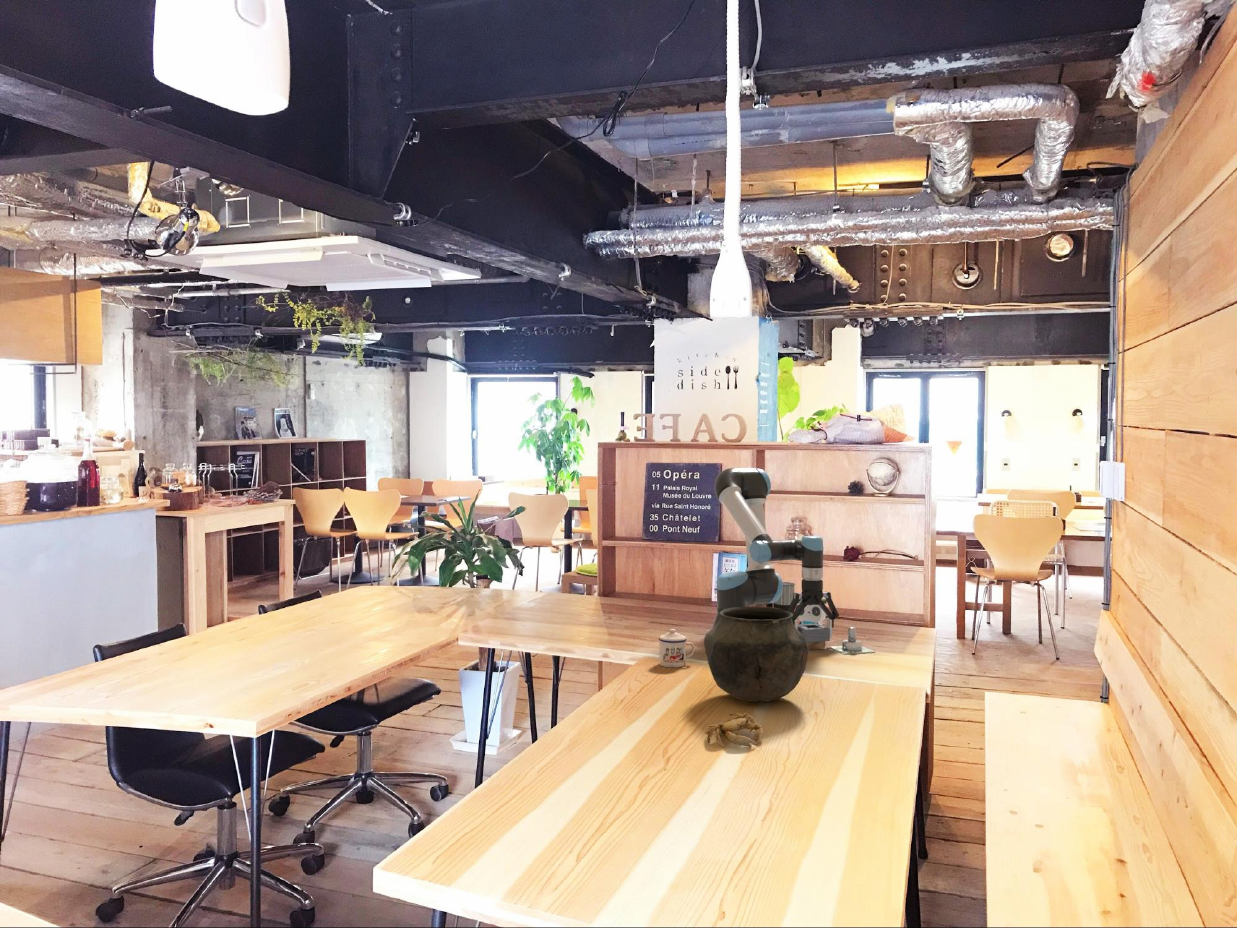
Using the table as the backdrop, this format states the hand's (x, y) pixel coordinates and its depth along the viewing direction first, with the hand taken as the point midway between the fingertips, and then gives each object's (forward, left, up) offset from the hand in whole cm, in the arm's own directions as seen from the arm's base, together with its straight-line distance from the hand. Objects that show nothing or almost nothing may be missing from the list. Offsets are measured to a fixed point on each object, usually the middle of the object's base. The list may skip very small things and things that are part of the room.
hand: (811, 637), depth 324 cm
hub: (+12, -7, -3) cm, 14 cm away
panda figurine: (+8, +16, -4) cm, 18 cm away
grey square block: (0, 0, 0) cm, 1 cm away
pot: (-47, -59, -4) cm, 75 cm away
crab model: (-67, -90, -4) cm, 112 cm away
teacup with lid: (-56, -14, -4) cm, 58 cm away
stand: (0, 0, -3) cm, 3 cm away
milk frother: (+11, +54, -4) cm, 55 cm away
